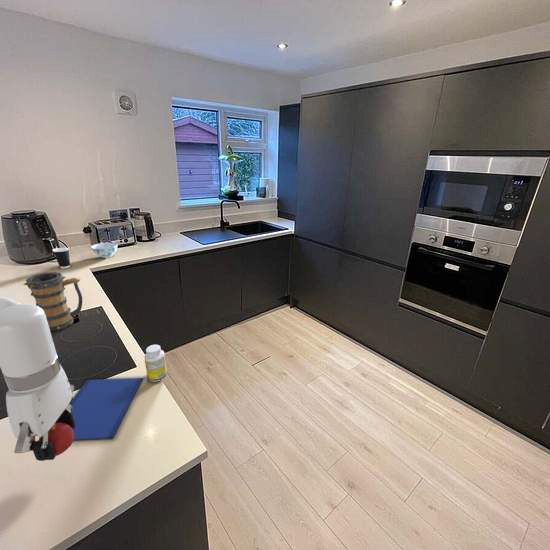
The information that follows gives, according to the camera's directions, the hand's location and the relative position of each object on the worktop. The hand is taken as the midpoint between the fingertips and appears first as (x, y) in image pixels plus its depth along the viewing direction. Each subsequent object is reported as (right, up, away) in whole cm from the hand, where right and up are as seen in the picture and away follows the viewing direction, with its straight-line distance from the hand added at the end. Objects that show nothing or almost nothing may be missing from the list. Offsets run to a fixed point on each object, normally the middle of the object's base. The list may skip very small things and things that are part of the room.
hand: (57, 442), depth 58 cm
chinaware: (-68, +46, +134) cm, 157 cm away
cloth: (-3, -1, +18) cm, 19 cm away
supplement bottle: (+8, +3, +30) cm, 31 cm away
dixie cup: (-82, +38, +114) cm, 145 cm away
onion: (0, -3, +1) cm, 3 cm away
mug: (-40, +15, +57) cm, 71 cm away
